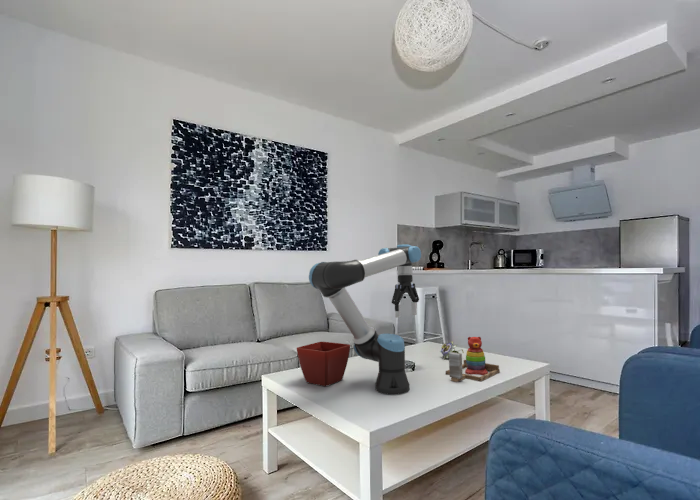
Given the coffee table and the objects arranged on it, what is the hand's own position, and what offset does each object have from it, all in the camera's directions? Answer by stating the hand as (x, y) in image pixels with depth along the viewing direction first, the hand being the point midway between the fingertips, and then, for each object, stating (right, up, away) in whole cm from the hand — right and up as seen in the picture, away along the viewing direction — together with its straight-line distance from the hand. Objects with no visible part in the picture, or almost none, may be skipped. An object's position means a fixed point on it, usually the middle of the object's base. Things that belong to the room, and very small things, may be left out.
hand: (406, 316), depth 191 cm
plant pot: (-41, -29, -12) cm, 52 cm away
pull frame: (+29, -27, -8) cm, 41 cm away
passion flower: (+30, -30, +27) cm, 50 cm away
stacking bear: (+35, -28, -4) cm, 45 cm away
